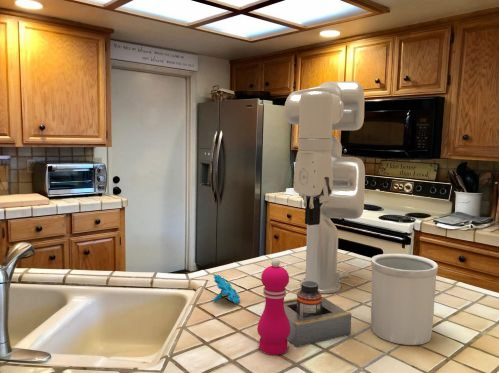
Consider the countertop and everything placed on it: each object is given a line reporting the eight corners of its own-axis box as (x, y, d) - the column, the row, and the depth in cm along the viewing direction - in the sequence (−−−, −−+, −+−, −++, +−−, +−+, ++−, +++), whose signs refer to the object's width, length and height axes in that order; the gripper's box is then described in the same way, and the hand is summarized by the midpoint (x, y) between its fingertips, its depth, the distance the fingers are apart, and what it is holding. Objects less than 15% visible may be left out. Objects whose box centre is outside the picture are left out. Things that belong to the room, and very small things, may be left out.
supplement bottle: (299, 321, 105) (300, 278, 104) (322, 325, 103) (324, 281, 102) (293, 331, 99) (295, 285, 98) (318, 335, 98) (320, 289, 96)
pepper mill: (255, 340, 95) (257, 254, 93) (286, 339, 95) (289, 254, 93) (258, 356, 88) (260, 264, 85) (292, 355, 88) (295, 264, 86)
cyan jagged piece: (240, 304, 111) (214, 276, 112) (224, 319, 111) (198, 291, 112) (244, 294, 122) (220, 269, 123) (229, 308, 122) (206, 283, 123)
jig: (318, 313, 110) (319, 294, 109) (350, 334, 98) (351, 313, 98) (268, 323, 104) (269, 302, 103) (296, 347, 92) (296, 324, 91)
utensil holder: (355, 324, 104) (358, 255, 102) (401, 315, 110) (405, 250, 108) (397, 352, 91) (402, 274, 89) (447, 340, 97) (453, 266, 95)
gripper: (284, 145, 101) (282, 219, 104) (319, 147, 88) (316, 232, 90) (310, 145, 104) (308, 217, 107) (348, 147, 91) (344, 229, 93)
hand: (312, 224), depth 98 cm, fingers closed
